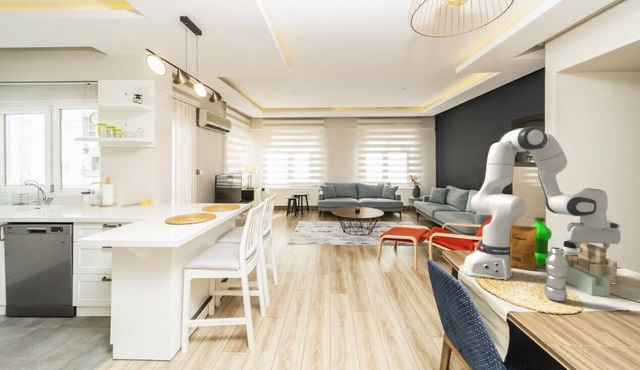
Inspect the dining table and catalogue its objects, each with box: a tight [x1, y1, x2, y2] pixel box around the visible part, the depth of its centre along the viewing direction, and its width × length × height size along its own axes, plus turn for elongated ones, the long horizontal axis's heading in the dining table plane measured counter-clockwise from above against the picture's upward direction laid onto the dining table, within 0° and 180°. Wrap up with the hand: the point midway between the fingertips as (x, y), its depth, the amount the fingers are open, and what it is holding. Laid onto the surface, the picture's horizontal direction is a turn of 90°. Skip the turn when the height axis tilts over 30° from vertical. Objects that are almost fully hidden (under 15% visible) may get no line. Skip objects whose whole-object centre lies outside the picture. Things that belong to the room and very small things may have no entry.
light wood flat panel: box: [578, 243, 607, 265], centre depth 126 cm, size 2×12×15 cm, turn 171°
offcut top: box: [569, 256, 583, 264], centre depth 130 cm, size 3×4×3 cm
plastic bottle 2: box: [543, 246, 568, 302], centre depth 103 cm, size 6×7×20 cm
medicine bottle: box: [560, 240, 578, 254], centre depth 145 cm, size 7×7×12 cm
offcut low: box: [568, 261, 578, 268], centre depth 131 cm, size 3×5×5 cm, turn 171°
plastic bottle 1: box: [531, 216, 552, 266], centre depth 144 cm, size 10×10×25 cm
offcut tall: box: [578, 259, 597, 271], centre depth 124 cm, size 3×6×8 cm, turn 171°
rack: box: [563, 253, 618, 284], centre depth 126 cm, size 10×18×10 cm, turn 171°
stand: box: [565, 265, 611, 297], centre depth 115 cm, size 6×17×7 cm, turn 171°
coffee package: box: [509, 223, 537, 271], centre depth 139 cm, size 10×12×22 cm
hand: (591, 252), depth 126 cm, fingers open, 8 cm apart
